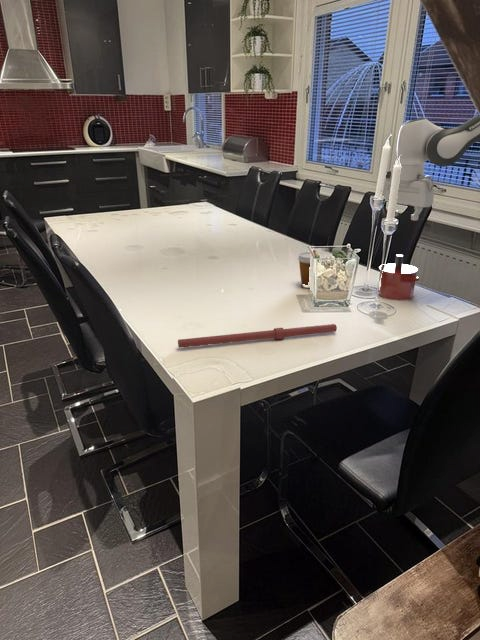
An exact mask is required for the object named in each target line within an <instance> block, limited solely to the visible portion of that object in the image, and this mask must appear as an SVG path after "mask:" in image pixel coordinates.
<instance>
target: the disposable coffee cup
mask: <svg viewBox="0 0 480 640" xmlns="http://www.w3.org/2000/svg"><path fill="white" fill-rule="evenodd" d="M310 252H311V251H308V252H301V253H299V254H298V257H297V260H298V263H299V273H300V284H301V283H302V284H305V285H308V282H309V267H310ZM302 284H301V285H302Z"/></svg>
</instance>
